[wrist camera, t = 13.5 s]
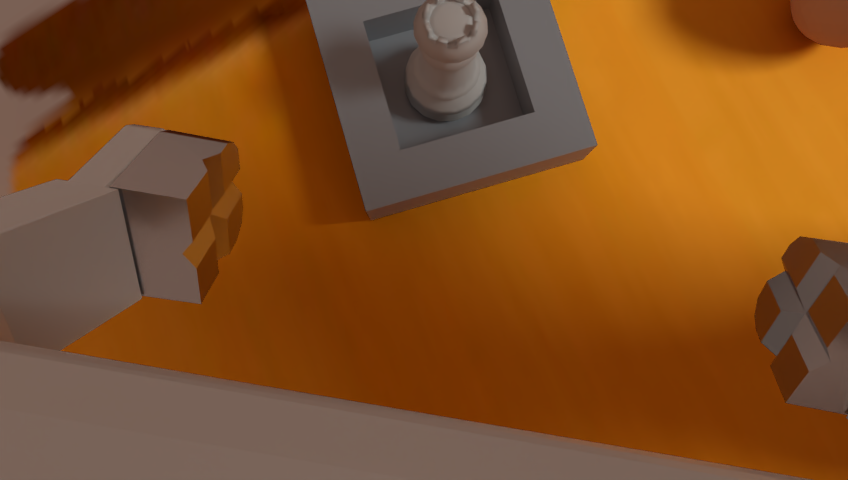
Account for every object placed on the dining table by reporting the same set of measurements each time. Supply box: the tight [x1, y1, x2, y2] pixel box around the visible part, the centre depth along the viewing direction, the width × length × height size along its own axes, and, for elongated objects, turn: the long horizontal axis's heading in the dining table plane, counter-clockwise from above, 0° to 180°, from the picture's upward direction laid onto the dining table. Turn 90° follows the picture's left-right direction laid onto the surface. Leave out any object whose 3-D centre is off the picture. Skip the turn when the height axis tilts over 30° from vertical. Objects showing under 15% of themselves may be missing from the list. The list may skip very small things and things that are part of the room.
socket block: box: [306, 0, 597, 220], centre depth 34 cm, size 12×12×3 cm
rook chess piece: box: [404, 0, 488, 121], centre depth 31 cm, size 4×4×8 cm
